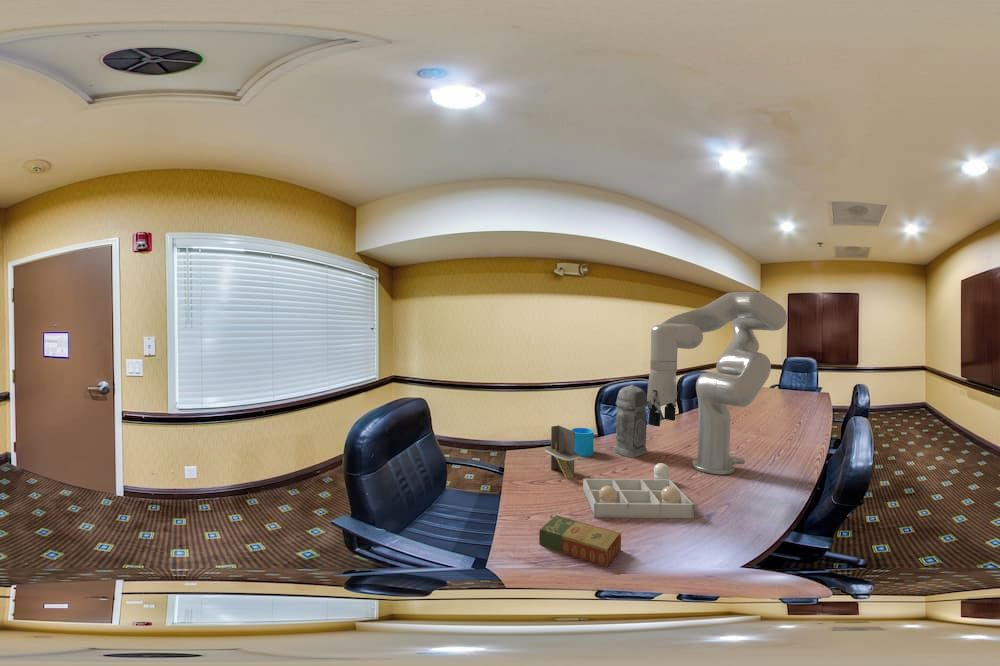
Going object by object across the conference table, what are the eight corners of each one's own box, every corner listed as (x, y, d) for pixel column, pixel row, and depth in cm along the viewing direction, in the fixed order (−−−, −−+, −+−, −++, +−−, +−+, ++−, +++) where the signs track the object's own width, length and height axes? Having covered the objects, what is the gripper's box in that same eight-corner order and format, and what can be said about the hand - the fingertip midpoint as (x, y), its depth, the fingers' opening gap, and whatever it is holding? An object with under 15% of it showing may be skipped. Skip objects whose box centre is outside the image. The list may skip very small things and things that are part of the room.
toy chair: (558, 494, 129) (559, 444, 128) (515, 467, 151) (515, 423, 150) (612, 482, 138) (613, 435, 137) (563, 458, 160) (564, 417, 159)
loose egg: (666, 479, 140) (666, 460, 140) (671, 484, 136) (672, 466, 135) (651, 478, 140) (651, 460, 140) (656, 484, 136) (656, 466, 135)
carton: (607, 569, 92) (607, 549, 92) (538, 546, 101) (538, 527, 101) (621, 551, 99) (621, 532, 99) (555, 530, 108) (555, 513, 108)
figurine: (652, 451, 167) (653, 384, 165) (629, 459, 158) (630, 388, 156) (629, 445, 174) (630, 380, 173) (606, 452, 165) (607, 384, 164)
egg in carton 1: (614, 503, 121) (614, 482, 121) (618, 511, 116) (619, 489, 116) (597, 503, 121) (597, 482, 121) (600, 511, 116) (601, 489, 116)
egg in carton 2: (675, 504, 121) (676, 483, 120) (682, 512, 116) (682, 490, 116) (658, 504, 121) (658, 483, 121) (664, 512, 116) (664, 490, 116)
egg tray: (669, 491, 131) (669, 479, 131) (693, 518, 114) (694, 504, 114) (582, 490, 131) (583, 478, 131) (594, 517, 114) (594, 503, 114)
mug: (582, 448, 171) (582, 426, 170) (598, 453, 164) (598, 431, 164) (558, 453, 164) (558, 431, 164) (573, 460, 158) (573, 436, 157)
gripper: (665, 362, 145) (663, 415, 146) (637, 367, 133) (636, 425, 134) (688, 364, 139) (687, 419, 140) (661, 370, 127) (660, 430, 128)
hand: (662, 422), depth 137 cm, fingers open, 9 cm apart
